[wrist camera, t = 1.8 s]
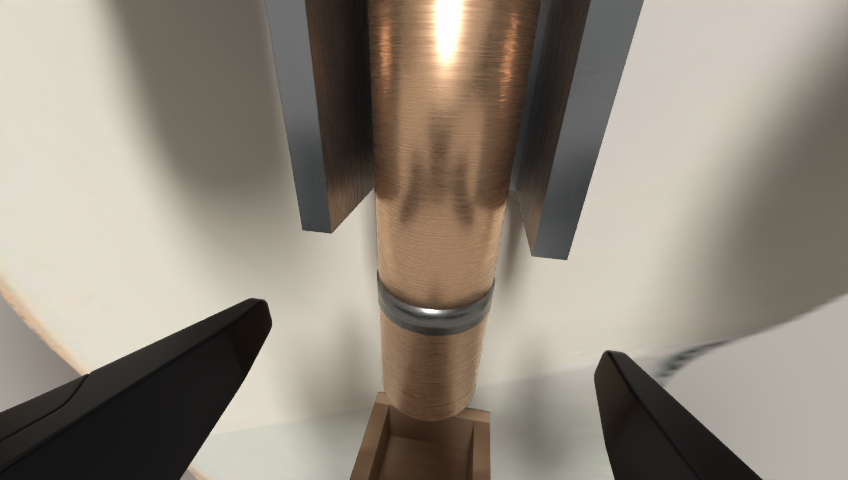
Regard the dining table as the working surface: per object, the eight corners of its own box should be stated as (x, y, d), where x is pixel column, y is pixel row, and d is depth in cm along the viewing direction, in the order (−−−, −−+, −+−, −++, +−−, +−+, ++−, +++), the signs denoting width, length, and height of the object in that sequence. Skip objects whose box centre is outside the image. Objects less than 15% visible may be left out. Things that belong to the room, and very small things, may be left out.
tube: (387, -318, 7) (280, -734, 3) (589, -342, 6) (723, -871, 3) (394, 335, 16) (369, 412, 12) (477, 347, 15) (475, 431, 12)
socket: (489, 412, 19) (491, 559, 14) (481, 449, 21) (480, 591, 16) (378, 392, 20) (335, 522, 15) (380, 429, 22) (343, 557, 16)
